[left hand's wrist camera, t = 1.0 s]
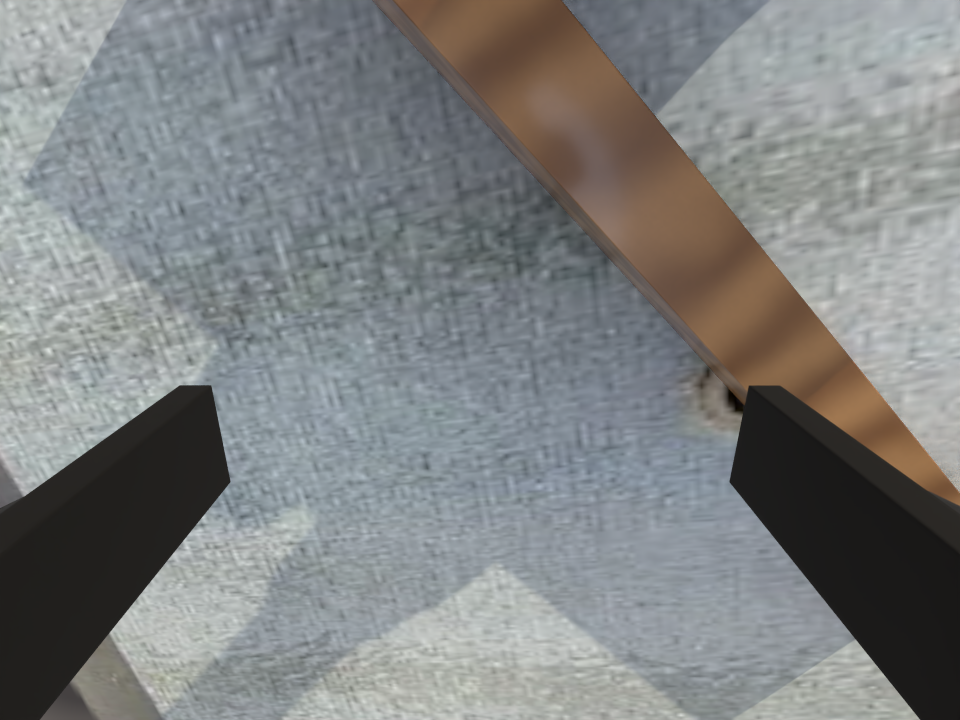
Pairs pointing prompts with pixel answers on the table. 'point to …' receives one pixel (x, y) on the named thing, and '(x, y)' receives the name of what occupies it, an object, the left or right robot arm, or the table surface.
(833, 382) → the post
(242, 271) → the table surface
